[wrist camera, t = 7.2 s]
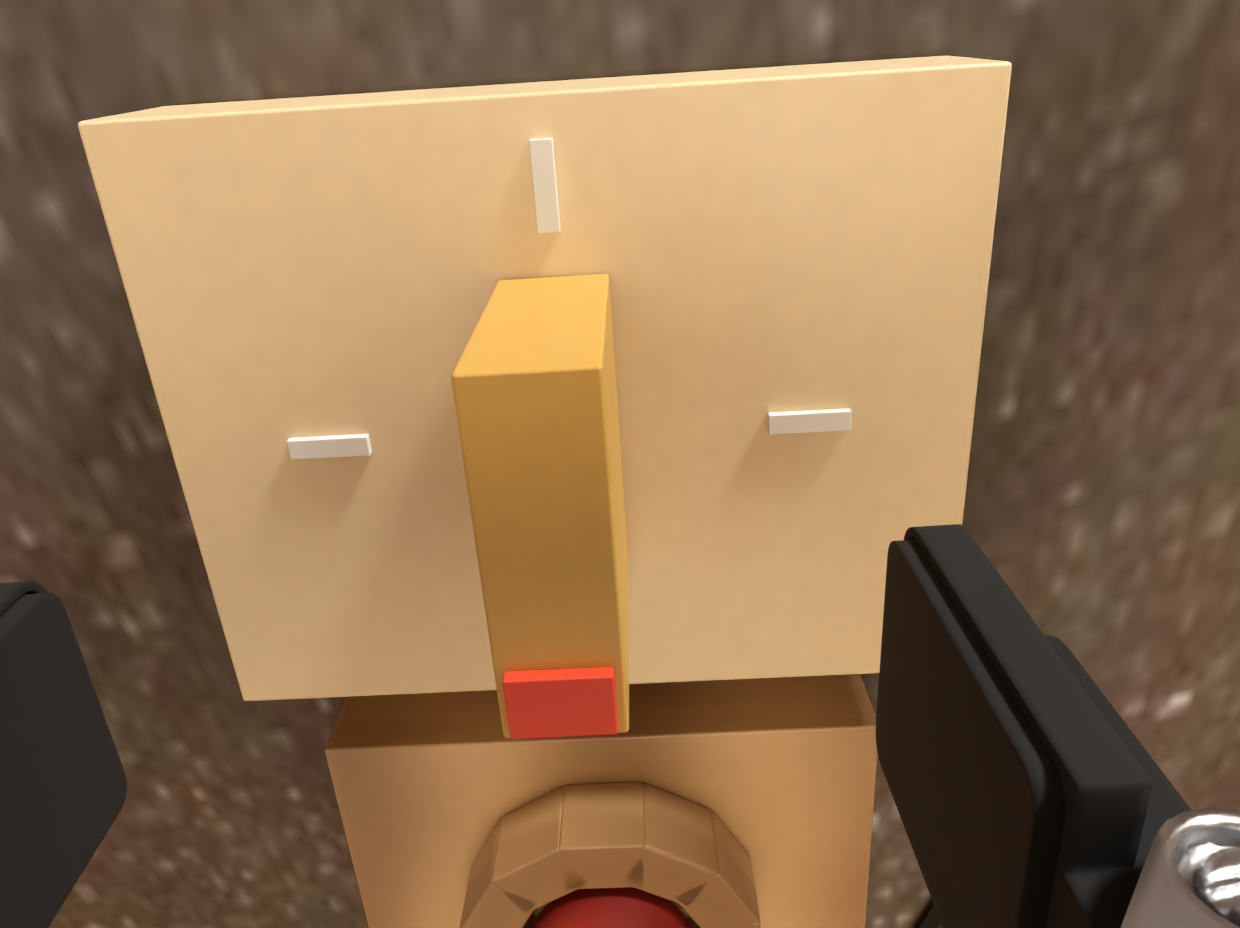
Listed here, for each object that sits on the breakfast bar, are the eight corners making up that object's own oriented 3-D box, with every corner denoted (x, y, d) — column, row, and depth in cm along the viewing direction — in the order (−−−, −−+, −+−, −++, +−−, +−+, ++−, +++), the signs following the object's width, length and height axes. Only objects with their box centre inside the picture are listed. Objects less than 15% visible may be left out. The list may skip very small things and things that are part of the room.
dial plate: (291, 616, 22) (239, 707, 19) (162, 106, 17) (69, 122, 14) (906, 588, 21) (950, 676, 18) (949, 54, 16) (1017, 62, 14)
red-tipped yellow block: (497, 279, 15) (445, 381, 11) (609, 272, 15) (602, 373, 11) (532, 571, 17) (501, 750, 13) (629, 567, 17) (629, 745, 13)
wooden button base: (409, 944, 26) (373, 1092, 23) (350, 685, 22) (296, 813, 19) (842, 929, 26) (877, 1077, 22) (857, 662, 22) (902, 788, 18)
